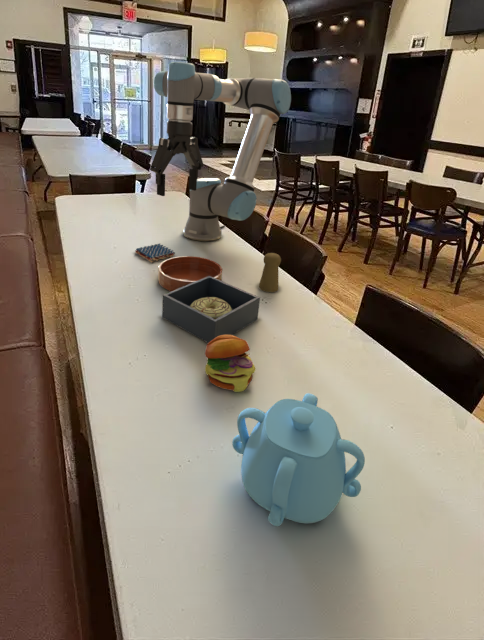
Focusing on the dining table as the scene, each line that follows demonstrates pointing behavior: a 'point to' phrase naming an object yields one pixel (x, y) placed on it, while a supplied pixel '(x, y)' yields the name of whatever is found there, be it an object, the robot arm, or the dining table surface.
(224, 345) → the cheeseburger
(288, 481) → the decorative pot
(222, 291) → the bin
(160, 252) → the woven mat
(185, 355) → the dining table surface
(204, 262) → the bowl
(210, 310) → the decorated donut
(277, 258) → the brown pawn
